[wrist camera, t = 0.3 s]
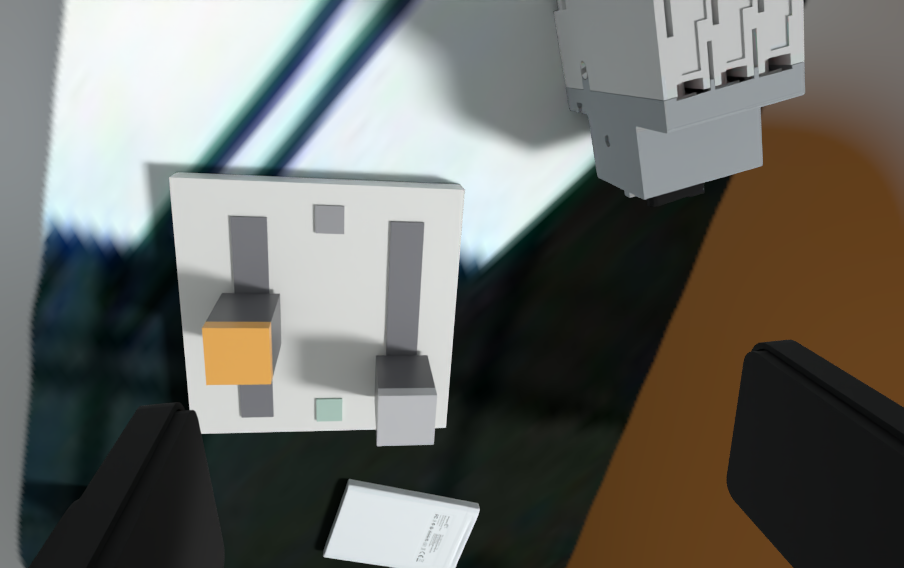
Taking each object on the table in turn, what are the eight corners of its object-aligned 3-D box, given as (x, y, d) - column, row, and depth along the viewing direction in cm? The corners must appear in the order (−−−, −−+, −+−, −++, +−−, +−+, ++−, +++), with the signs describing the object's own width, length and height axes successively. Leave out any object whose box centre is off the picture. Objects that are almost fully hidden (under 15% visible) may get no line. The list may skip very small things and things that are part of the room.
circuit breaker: (582, 188, 47) (679, 244, 33) (549, -9, 41) (648, -44, 27) (673, 163, 47) (807, 207, 33) (652, -37, 42) (801, -84, 28)
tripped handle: (221, 293, 43) (201, 328, 37) (280, 293, 43) (268, 328, 38) (225, 343, 44) (206, 385, 38) (281, 343, 45) (270, 384, 39)
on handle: (375, 355, 46) (378, 396, 41) (427, 355, 47) (437, 395, 41) (374, 400, 48) (376, 446, 42) (424, 399, 48) (433, 444, 43)
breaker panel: (177, 172, 42) (167, 177, 40) (460, 184, 45) (465, 190, 43) (198, 419, 49) (191, 435, 46) (442, 414, 52) (446, 429, 50)
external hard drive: (348, 474, 53) (477, 499, 56) (323, 545, 56) (448, 565, 59) (348, 486, 52) (480, 511, 55) (322, 559, 54) (451, 579, 57)
